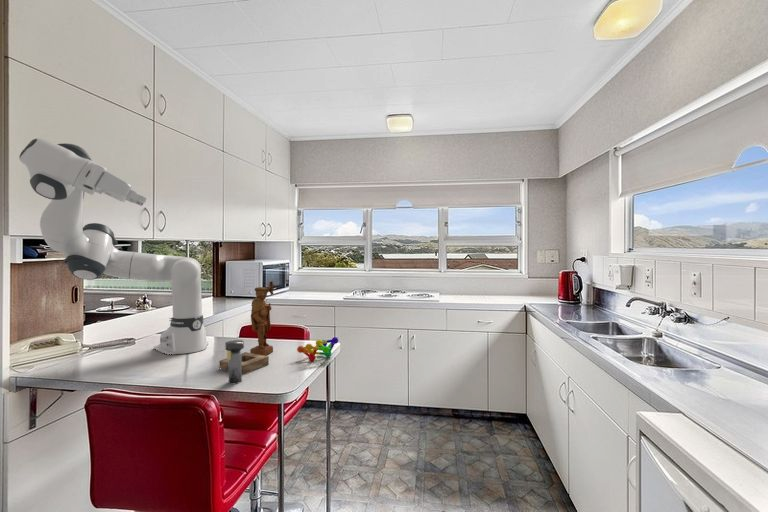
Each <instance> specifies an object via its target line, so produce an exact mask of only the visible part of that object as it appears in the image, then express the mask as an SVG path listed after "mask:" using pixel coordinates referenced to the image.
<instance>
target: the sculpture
mask: <svg viewBox="0 0 768 512" xmlns="http://www.w3.org/2000/svg"><path fill="white" fill-rule="evenodd" d="M274 288H275V284H274V282H273V280H269V283H268V286H263V287H261V286H259V287H257V286H256V287H255V288H254V289H253V290H254V291H255V296H256V297H253V299H252V301H251V310H250V312H251V313H250V321H251V322H250V323H251V329H252V332H256V333H257V338H258V339H257V342H258V344H257V345H256V346H254V347H252V348H250V350H249V353H253V354H258V355H263V356H268V355H270V354H271V353H273V352H274V346H273V345H270V344H268V343H267V339H268V337H267V335H268V331H270V330H271V329H272V325H271V317H270V316H271V313H270V312H271V311H272V305H271V302H269V303H268V304H267V302H266V297H267V296H268V292H269V293H270V296H272V295H274Z"/></svg>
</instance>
